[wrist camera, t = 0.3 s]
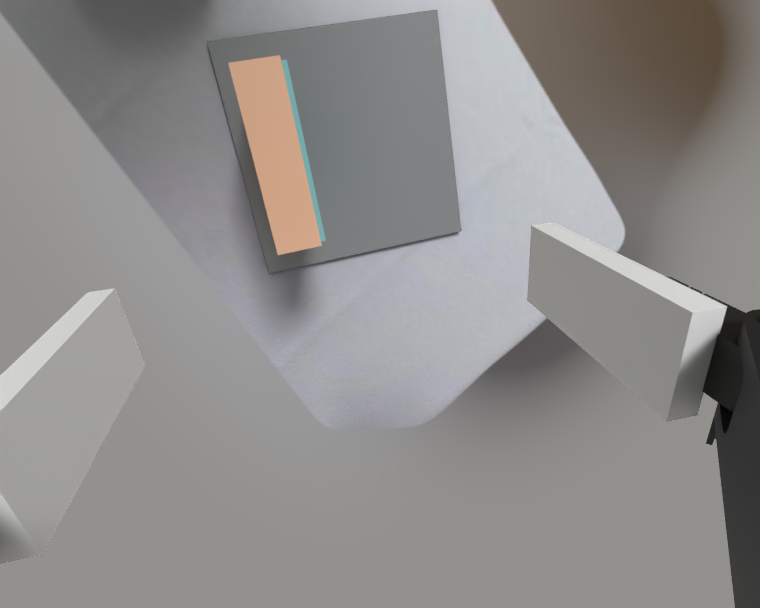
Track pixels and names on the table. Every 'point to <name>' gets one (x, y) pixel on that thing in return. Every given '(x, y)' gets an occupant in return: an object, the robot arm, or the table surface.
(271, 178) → the tile
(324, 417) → the table surface
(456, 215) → the mat
